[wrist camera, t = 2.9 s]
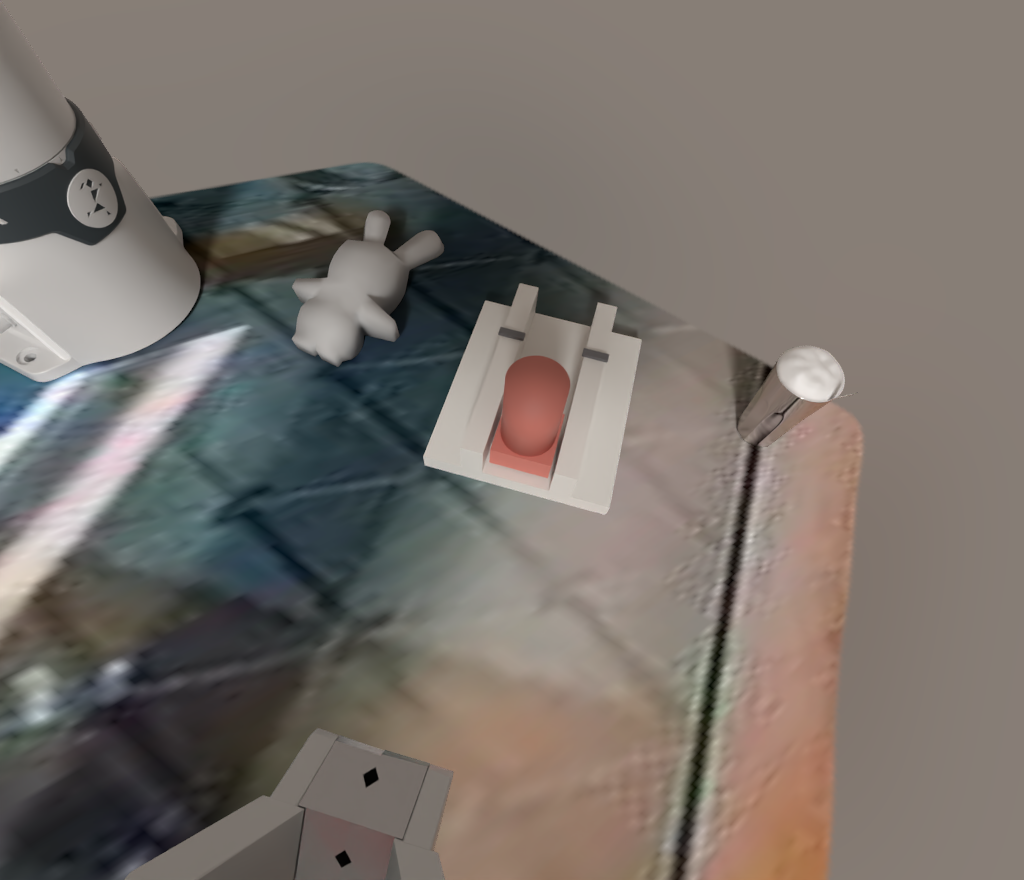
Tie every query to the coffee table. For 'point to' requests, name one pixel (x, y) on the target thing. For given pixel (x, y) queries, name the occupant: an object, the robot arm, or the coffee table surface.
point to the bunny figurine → (359, 292)
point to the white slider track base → (588, 410)
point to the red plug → (531, 415)
